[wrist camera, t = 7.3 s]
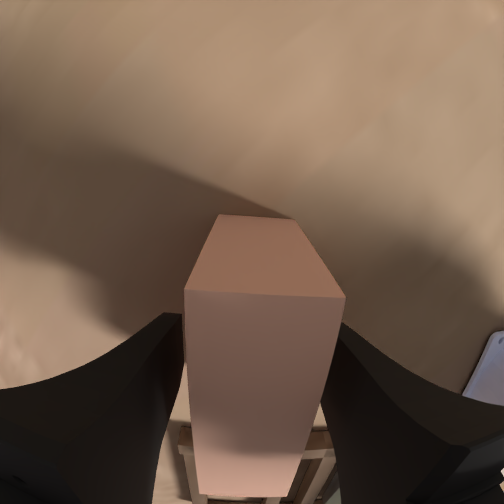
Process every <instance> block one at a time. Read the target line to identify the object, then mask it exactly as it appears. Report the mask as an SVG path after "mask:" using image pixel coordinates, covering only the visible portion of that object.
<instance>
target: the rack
mask: <svg viewBox="0 0 504 504" xmlns="http://www.w3.org/2000/svg"><path fill="white" fill-rule="evenodd" d="M178 450H179V454H183V455H184V461H185V467H186V473H187V478H188V483H189V489H190V494H191V499H192V504H323V500H315V499H316V498H317V496H318V494H319V492H320V491H321V489H322V487H323V485H324V484H325V482H326V480H327V478H328V476H329V474H330V472H331V471H332V469H333V467H334V465H335V463H336V458H335V452H334V448H333V444H332V440H331V437H330V433H329V431H313V432H310V435H309V438H308V441H307V444H306V447H305V450H304V452H303V455H302V458H301V459H312V460H311V462H310V465H309V467H308V470H307V472H306V474H305V477H304V479H303V481H302V483H301V486H300V488H299V490H298V492H297V495H296V497H295V499H294V501H293V502H280V499H281V497H263V498H262V501H261V503H248V502H225V501H212V500H208V497H207V494H199V487H198V479H197V472H196V464H195V455H194V446H193V436H192V428H191V427H183V426H181V431H180V436H179V441H178Z"/></svg>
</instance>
